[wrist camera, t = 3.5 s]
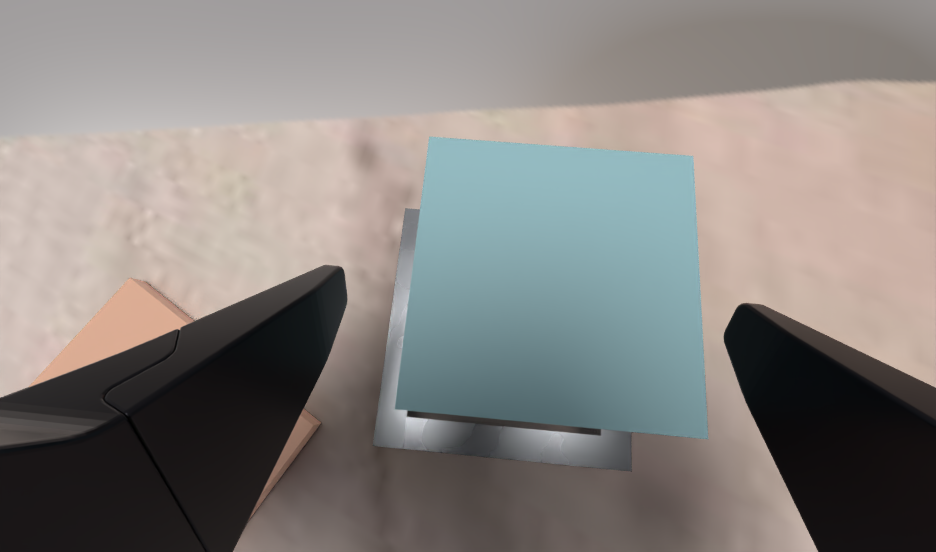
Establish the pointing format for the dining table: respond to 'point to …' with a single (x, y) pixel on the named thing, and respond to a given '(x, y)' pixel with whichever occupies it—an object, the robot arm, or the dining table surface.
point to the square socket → (474, 431)
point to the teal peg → (556, 289)
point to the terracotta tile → (137, 321)
